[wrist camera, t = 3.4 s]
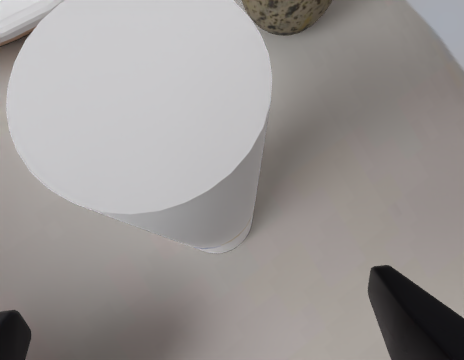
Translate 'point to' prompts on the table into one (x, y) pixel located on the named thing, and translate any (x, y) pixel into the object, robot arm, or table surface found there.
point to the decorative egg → (285, 14)
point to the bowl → (22, 17)
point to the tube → (147, 113)
